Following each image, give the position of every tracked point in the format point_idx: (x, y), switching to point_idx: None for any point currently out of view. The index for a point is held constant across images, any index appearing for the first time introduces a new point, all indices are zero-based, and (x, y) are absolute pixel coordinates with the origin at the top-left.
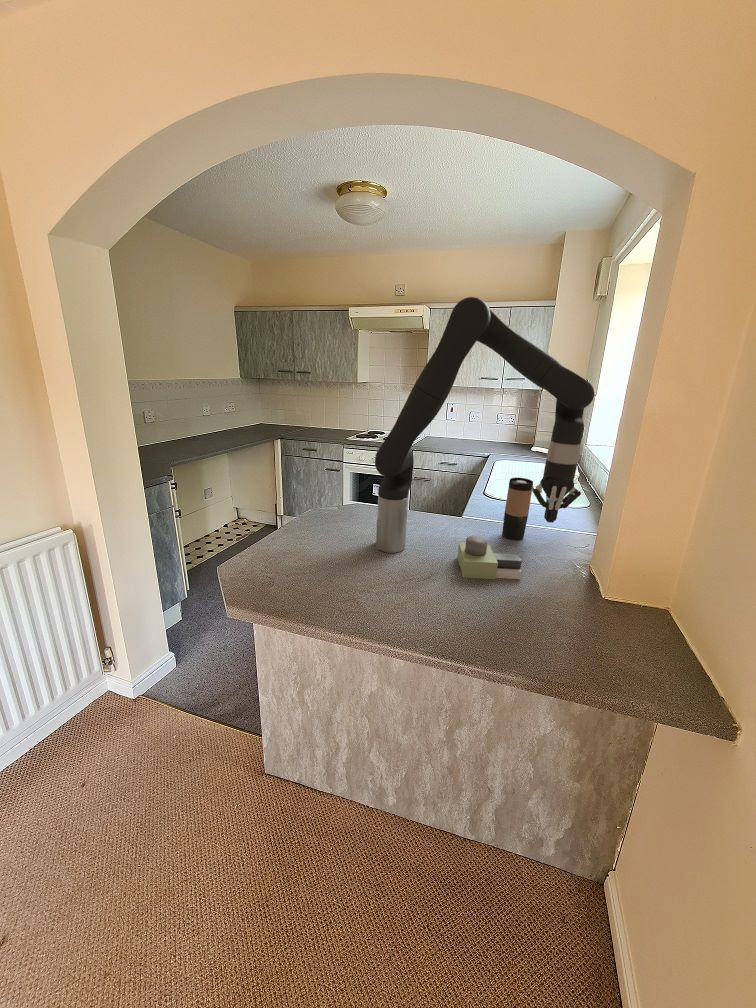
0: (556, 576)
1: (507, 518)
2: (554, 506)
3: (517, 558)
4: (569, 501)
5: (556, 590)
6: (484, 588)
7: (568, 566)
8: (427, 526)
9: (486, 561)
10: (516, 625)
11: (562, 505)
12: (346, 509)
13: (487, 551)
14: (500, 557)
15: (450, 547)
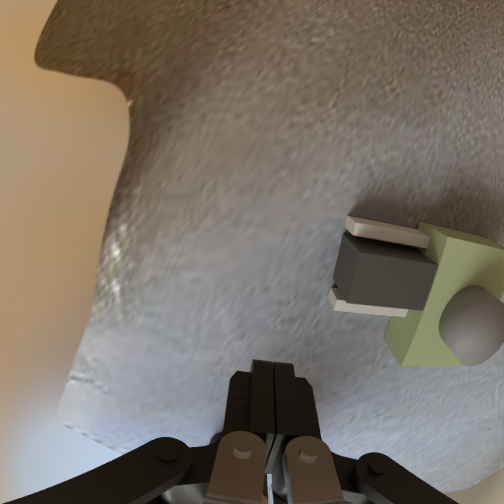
0: (212, 229)
1: (265, 485)
2: (263, 468)
3: (364, 271)
4: (110, 489)
5: (258, 140)
6: (463, 175)
7: (143, 290)
8: (417, 459)
9: (471, 249)
10: (438, 15)
11: (190, 466)
12: (493, 468)
13: (435, 318)
14: (417, 280)
15: (434, 386)
